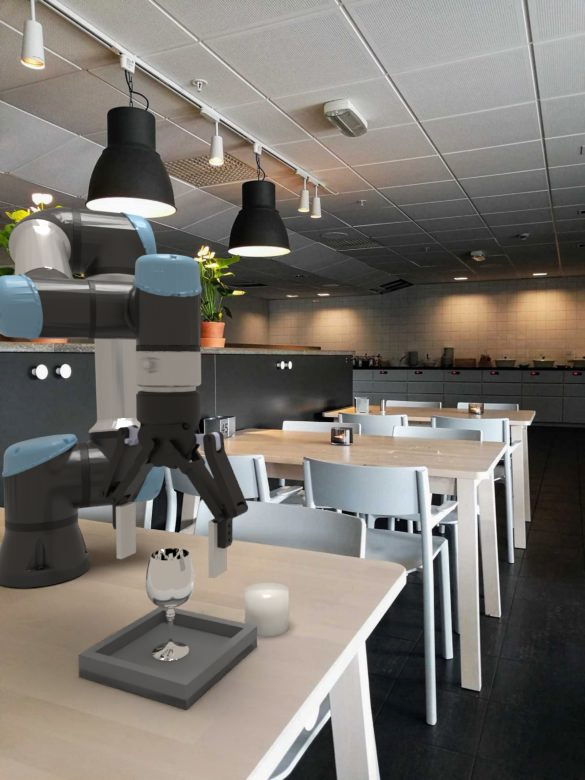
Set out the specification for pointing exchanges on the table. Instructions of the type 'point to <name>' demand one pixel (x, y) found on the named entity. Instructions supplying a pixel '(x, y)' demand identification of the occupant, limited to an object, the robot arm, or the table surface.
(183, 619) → the tray
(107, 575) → the table surface
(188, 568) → the wineglass
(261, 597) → the white pillar candle
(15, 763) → the table surface
